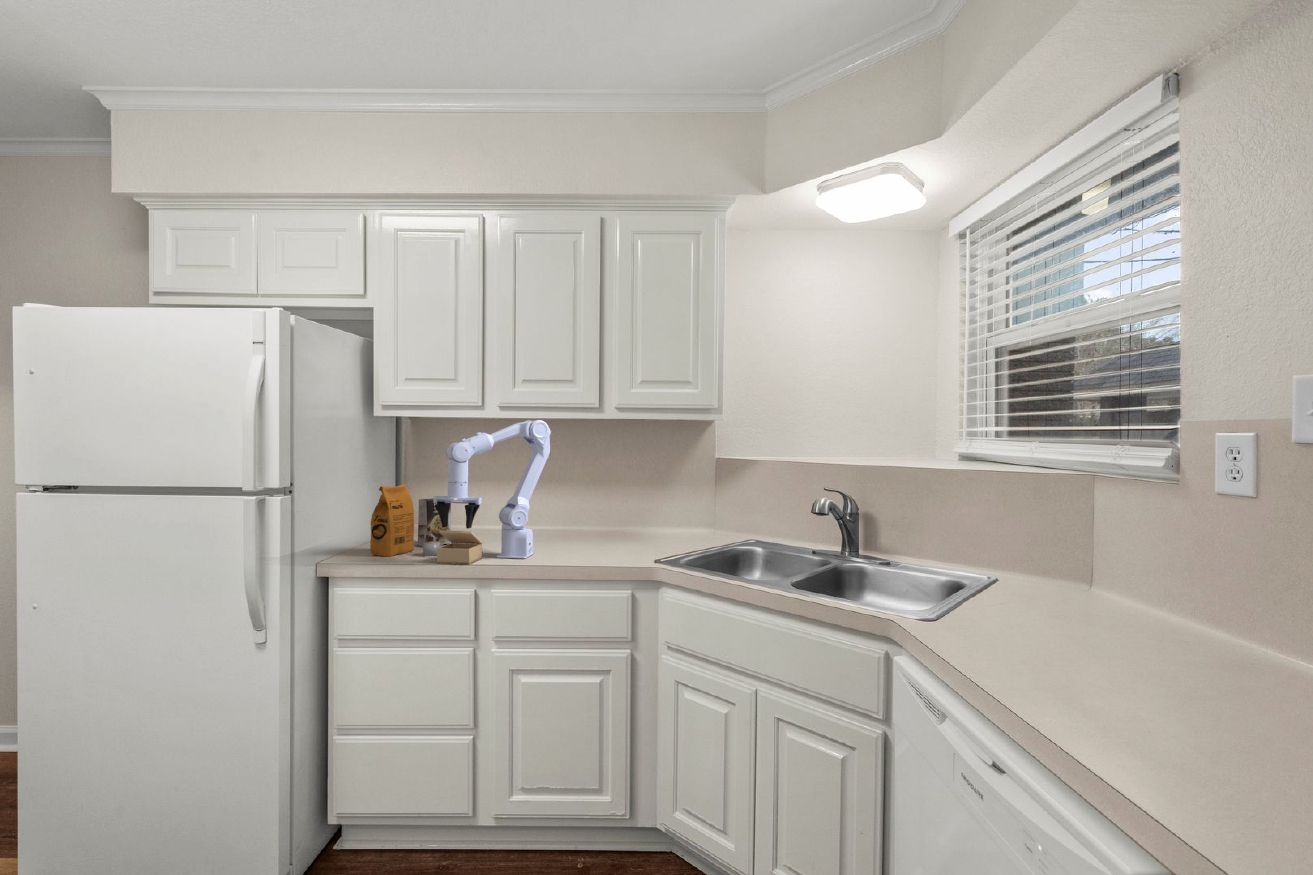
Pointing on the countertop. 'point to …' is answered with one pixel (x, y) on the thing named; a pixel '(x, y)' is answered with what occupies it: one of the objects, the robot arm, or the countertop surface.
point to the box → (459, 553)
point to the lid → (461, 537)
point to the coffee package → (392, 522)
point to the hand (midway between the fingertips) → (456, 527)
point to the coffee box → (431, 523)
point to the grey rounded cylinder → (430, 548)
